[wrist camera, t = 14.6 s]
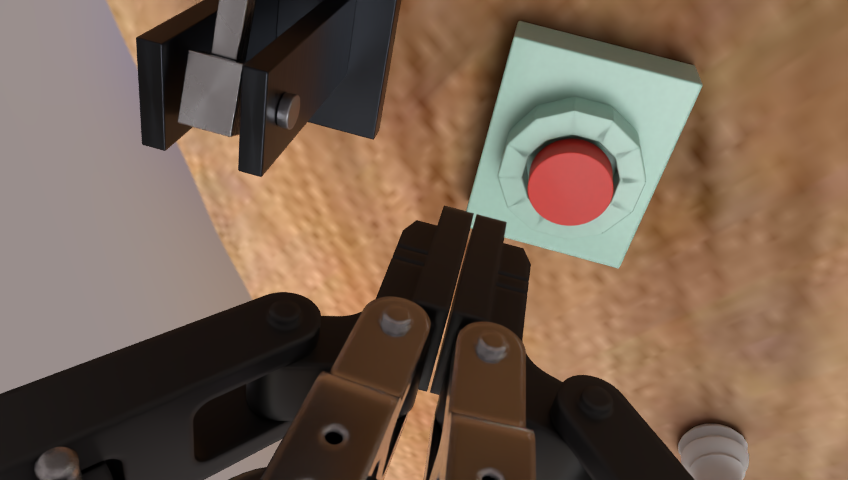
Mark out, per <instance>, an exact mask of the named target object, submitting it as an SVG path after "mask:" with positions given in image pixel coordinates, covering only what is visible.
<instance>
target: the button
mask: <svg viewBox="0 0 848 480" xmlns="http://www.w3.org/2000/svg"><path fill="white" fill-rule="evenodd" d="M527 190H528V197H529V200H530V203H531V204H532V206H533V208H534V209H535V210H536V212H537V213H538V214H539V215H541V216H542V217H543V218H545V219H546V220H548V221H550V222H552V223H555V224H559V225H565V226H575V225H581V224H585V223H588V222H590V221H592V220H594V219H596V218H597V217H599V216H600V215H601V214H602V213H603V212H604V211H605V210H606V209H607V207H608V206H609V204H610V202H611V199H612V196H613V172H612V166H611V163H610V161H609V159H608V157H607V156H606V154H605V153H604V152H603V151H602V150H601V149H600V148H599V147H597V146H596V145H594V144H592V143H590V142H588V141H585V140H580V139H562V140H558V141H555V142H553V143H551V144H549V145H547V146H546V147H544V148H543V149H542V150H541V151H540V152H539V153H538V154H537V155H536V156H535V158H534V160H533V162H532V164H531V167H530V172H529V179H528V187H527Z"/></svg>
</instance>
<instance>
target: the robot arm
mask: <svg viewBox="0 0 848 480" xmlns="http://www.w3.org/2000/svg"><path fill="white" fill-rule="evenodd" d="M473 215H474V213H471V212H467V211H463V210H459V209H455V208H452V207H448V206H444V207H443V210H442V213H441V216H440V219H439V222H438V226H436V225H433V224H429V223H425V222H421V221H418V220H416V221H415V222H414V223H412V224H411V225H410V226H408V227H407V228H406V229H404V230H403V232H402V234H401V237H400V239H399V242H398V245H397V247H396V249H395V252H394V254H393V258H392V259H391V262H390V264H389V267H388V269H387V272H386V274H385V277H384V280H383V282H382V285H381V287H380V290H379V292H378V295H377V297H376V299H375V300H373V301H371V302H370V303H368V304H367V305H366V306H365V308H364V309H363V311H362V312H360V313H357V314H354V315H349V316H321V314H320V311H319V309H318V307H317V306H316V305H315V304H314V303H313V302H312V301H311V300H309V299H308V298H306V297H304V296H302V295H298V294H295V293H288V292H278V293H272V294H268V295H265V296H263V297H260V298H257V299H255V300H252V301H249V302H247V303H244V304H241V305H239V306H236V307H233V308H230V309H228V310H225V311H222V312H220V313H217V314H214V315H211V316H209V317H206V318H203V319H201V320H198V321H195V322H193V323H190V324H187V325H185V326H182V327H179V328H176V329H174V330H171V331H168V332H166V333H163V334H160V335H158V336H155V337H152V338H150V339H147V340H144V341H142V342H139V343H136V344H134V345H131V346H128V347H125V348H123V349H120V350H117V351H115V352H112V353H110V354H106V355H104V356H101V357H99V358H96V359H93V360H91V361H88V362H85V363H82V364H80V365H77V366H74V367H72V368H69V369H66V370H63V371H61V372H58V373H55V374H53V375H50V376H47V377H45V378H42V379H39V380H37V381H34V382H31V383H29V384H26V385H23V386H21V387H18V388H15V389H12V390H10V391H7V392H5V393H2V394H0V480H204V479H206V478H208V477H210V476H212V475H214V474H216V473H218V472H220V471H221V470H223V469H225V468H227V467H229V466H231V465H233V464H235V463H237V462H239V461H240V460H243V459H244V458H246V457H248V456H250V455H252V454H254V453H256V452H258V451H260V450H262V449H263V448H265V447H267V446H269V445H271V444H273V443H275V442H277V441H279V440H281V439H282V441H281V443H280V444H279V446H278V448H277V450H276V451H275V453H274V455H273V457H272V459H271V460H270V462H269V464H268V466H267V467H265V468H259V469H255V470H252V471H248V472H245V473H242V474H240V475H238V476H235V477H233V478H231V479H229V480H384V478H385V475H386V472H387V470H388V467H389V465H390V462H391V459H392V457H393V454H394V451H395V449H396V446H397V444H398V441H399V438H400V436H401V433H402V431H403V428H404V425H405V423H406V420H407V416H408V412H409V411H410V410H411V409H412V407H413V405H414V402H415V399H416V395H417V391H418V389H419V390H423V391H426V392H427V389H428V386H429V382H430V379H431V375H432V371H433V368H434V364H435V360H436V357H437V353H438V350H439V346H440V342H441V339H442V335H443V331H444V328H445V324H446V320H447V317H448V313H449V309H450V306H451V302H452V298H453V294H454V290H455V286H456V282H457V278H458V274H459V270H460V266H461V262H462V258H463V255H464V251H465V247H466V243H467V239H468V235H469V231H470V227H471V223H472V219H473ZM506 224H507V222H505V221H501V220H498V219H494V218H490V217H486V216H482V215H479V214H477V215H476V218H475V221H474V225H473V229H472V232H471V236H470V240H469V243H468V247H467V250H466V254H465V258H464V261H463V265H462V269H461V272H460V276H459V280H458V284H457V287H456V291H455V295H454V299H453V303H452V307H451V311H450V315H449V319H448V323H447V327H446V331H445V335H444V339H443V343H442V347H441V351H440V355H439V359H438V363H437V367H436V371H435V375H434V379H433V382H432V386H431V390H430V392H431V393H434V394H438V395H439V399H438V403H437V408H436V411H435V415H434V418H433V421H432V425H431V431H430V438H429V445H428V452H427V459H426V466H425V473H424V480H695V479H694V478H693V477H692V476H691V475H690V473H689V472H688V471H687V470H686V469H685V468H684V466H683V465H682V464H681V463H680V462H679V461H678V459H677V458H676V457H675V456H674V455H673V453H672V452H671V451H670V450H669V449H668V448H667V446H666V445H665V444H664V443H663V442H662V440H661V439H660V438H659V437H658V436H657V435H656V433H655V432H654V431H653V430H652V429H651V428H650V426H649V425H648V424H647V423H646V422H645V420H644V419H643V418H642V417H641V416H640V415H639V413H638V412H637V411H636V410H635V409H634V408H633V406H632V405H631V404H630V403H629V402H628V400H627V399H626V398H625V397H624V396H623V395H622V394H621V392H620V391H619V390H618V389H616V388H615V387H614V386H613V385H611V384H609V383H608V382H606V381H604V380H602V379H599V378H597V377H593V376H588V375H577V376H572V377H570V378H568V379H566V380H565V381H564V382H561V381H559V380H558V379H556V378H554V377H552V376H550V375H549V374H547V373H545V372H544V371H542V370H541V369H540V368H538V367H537V366H536V365H535V364H534V363H533V362H532V361H531V360H530V358H529V357H528V356H527V354H526V351H525V347H524V345H523V343H522V337H523V328H524V319H525V310H526V301H527V292H528V284H529V282H528V281H529V275H530V266H531V264H530V262H529V259H528V257H527V255H526V253H525V251H524V249H523V248H520V247H516V246H512V245H508V244H505V243H503V241H504V235H505V230H506Z"/></svg>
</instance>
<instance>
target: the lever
mask: <svg viewBox="0 0 848 480" xmlns="http://www.w3.org/2000/svg"><path fill="white" fill-rule="evenodd" d="M255 4H256V0H219V5H218V11H217V17H216V23H215V30H214V36H213V42H212V48H211V52H210V51H196V50H189V51H188V56H187V63H186V69H185V76H184V82H183V89H182V95H181V102H180V108H179V115H178V123H181V124H184V125H188V126H192V127H195V128H199V129H203V130H206V131H210V132H214V133H217V134H221V135H225V136H228V137H232V136H236V135H240V111H241V84H242V66H243V65H244V64H245V63H246V62H248V60H246V56H247V50H248V44H249V38H250V33H251V27H252V21H253V16H254V10H255Z"/></svg>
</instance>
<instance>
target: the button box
mask: <svg viewBox="0 0 848 480" xmlns="http://www.w3.org/2000/svg"><path fill="white" fill-rule="evenodd" d="M701 88H702V82H701V80H700V77H699V75H698V72H697V69H696V67H695V66H694V65H691V64H687V63H683V62H679V61H675V60H671V59H667V58H663V57H659V56H655V55H652V54H648V53H644V52H640V51H636V50H632V49H628V48H624V47H620V46H616V45H612V44H609V43H605V42H601V41H597V40H593V39H589V38H585V37H581V36H577V35H573V34H569V33H566V32H562V31H558V30H554V29H550V28H546V27H542V26H538V25H534V24H530V23H527V22H523V21H518V23H517V27H516V30H515V34H514V37H513V41H512V45H511V48H510V52H509V56H508V59H507V63H506V67H505V70H504V74H503V78H502V81H501V85H500V89H499V92H498V96H497V100H496V103H495V107H494V111H493V114H492V118H491V122H490V125H489V129H488V133H487V136H486V140H485V144H484V147H483V151H482V155H481V158H480V162H479V166H478V169H477V173H476V177H475V180H474V184H473V188H472V191H471V195H470V199H469V202H468V206H467V210H466V211H467V212H471V213H474V215H473V219H472V223H471V227H470V228H472V229H473V225H474V221H475V218H476V215H477V214H479V215H482V216H486V217H490V218H494V219H498V220H501V221H505V222H507V224H506V230H505V235H504V237H505V238H509V239H512V240H516V241H520V242H523V243H527V244H531V245H534V246H538V247H542V248H545V249H549V250H553V251H556V252H560V253H564V254H567V255H571V256H575V257H578V258H582V259H586V260H589V261H593V262H596V263H600V264H604V265H607V266H611V267H615V268H619V267H620V265H621V263H622V261H623V259H624V257H625V254H626V252H627V250H628V248H629V246H630V243H631V241H632V239H633V237H634V235H635V232H636V230H637V228H638V226H639V224H640V222H641V219H642V217H643V215H644V213H645V211H646V208H647V206H648V204H649V202H650V200H651V197H652V195H653V193H654V191H655V189H656V186H657V184H658V182H659V180H660V178H661V176H662V173H663V171H664V169H665V167H666V165H667V162H668V160H669V158H670V156H671V154H672V151H673V149H674V147H675V145H676V143H677V140H678V138H679V136H680V134H681V132H682V130H683V127H684V125H685V123H686V121H687V119H688V116H689V114H690V112H691V110H692V108H693V105H694V103H695V101H696V99H697V97H698V94H699V92H700V90H701ZM562 139H580V140H585V141H588V142H590V143H592V144H594V145H596V146H597V147H599V148H600V149H601V150H602V151H603V152H604V153H605V154H606V156H607V157H608V159H609V161H610V163H611V166H612V172H613V196H612V199H611V202H610V204H609V206H608V207H607V209H606V210H605V211H604V212H603V213H602V214H601V215H600V216H599V217H597V218H596V219H594V220H592V221H590V222H588V223H585V224H581V225H575V226H565V225H559V224H555V223H552V222H550V221H548V220H546V219H545V218H543V217H542V216H541V215H539V214H538V213H537V212H536V210H535V209H534V208H533V206H532V204H531V203H530V200H529V197H528V190H527V187H528V179H529V172H530V167H531V164H532V162H533V160H534V158H535V156H536V155H537V154H538V153H539V152H540V151H541V150H542V149H543V148H544V147H546V146H547V145H549V144H551V143H553V142H555V141H558V140H562Z"/></svg>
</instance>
